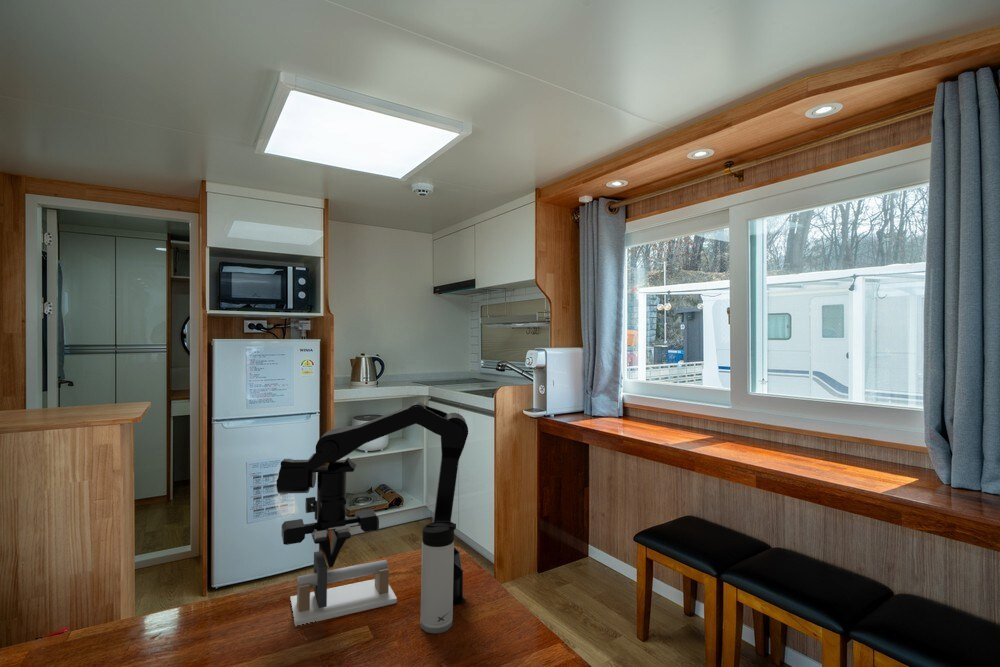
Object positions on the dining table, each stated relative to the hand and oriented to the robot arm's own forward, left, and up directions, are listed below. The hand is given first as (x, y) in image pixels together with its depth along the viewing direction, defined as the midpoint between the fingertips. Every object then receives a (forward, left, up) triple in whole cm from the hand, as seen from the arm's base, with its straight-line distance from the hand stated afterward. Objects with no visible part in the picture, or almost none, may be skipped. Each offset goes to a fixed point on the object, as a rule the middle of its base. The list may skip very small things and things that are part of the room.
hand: (330, 566), depth 107 cm
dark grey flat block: (+2, 0, -6) cm, 6 cm away
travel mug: (-18, +16, -8) cm, 25 cm away
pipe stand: (-3, 0, -8) cm, 9 cm away
